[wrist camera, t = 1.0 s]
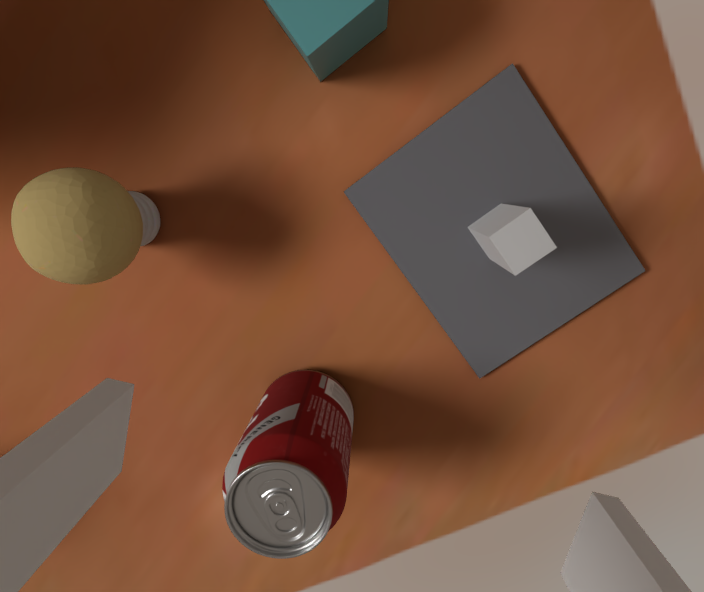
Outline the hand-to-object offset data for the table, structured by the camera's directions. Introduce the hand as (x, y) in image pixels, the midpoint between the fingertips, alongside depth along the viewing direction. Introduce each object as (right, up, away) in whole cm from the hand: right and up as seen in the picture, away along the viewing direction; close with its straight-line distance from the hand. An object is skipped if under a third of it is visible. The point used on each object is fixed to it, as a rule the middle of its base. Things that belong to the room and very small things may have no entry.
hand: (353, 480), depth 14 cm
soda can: (-3, -3, +23) cm, 24 cm away
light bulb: (-15, +10, +21) cm, 28 cm away
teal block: (-2, +22, +17) cm, 28 cm away
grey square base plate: (+9, +10, +20) cm, 24 cm away
